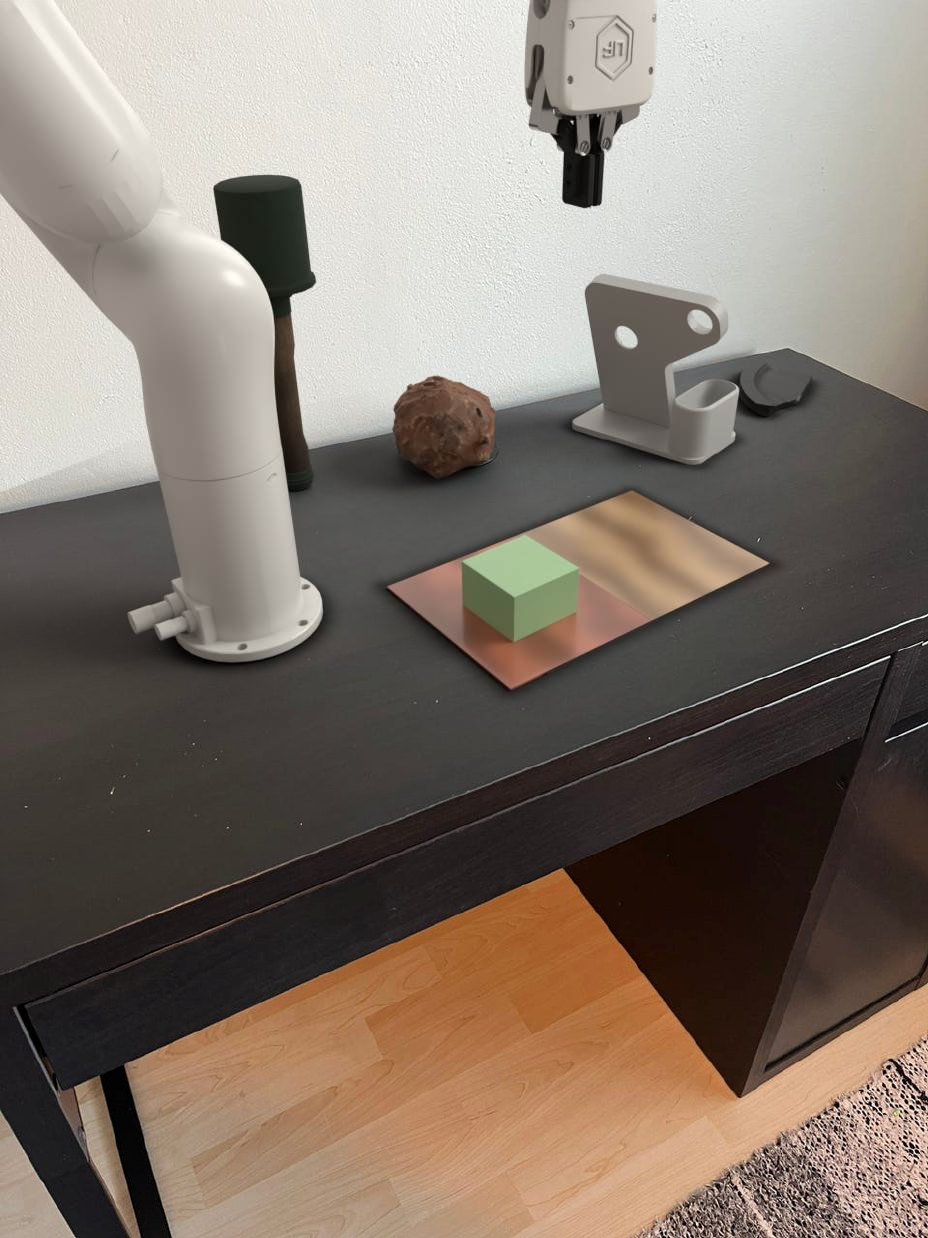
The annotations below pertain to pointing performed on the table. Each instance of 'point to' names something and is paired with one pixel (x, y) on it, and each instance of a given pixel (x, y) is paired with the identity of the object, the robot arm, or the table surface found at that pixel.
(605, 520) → the plate
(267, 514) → the robot arm
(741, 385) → the dark sector wedge
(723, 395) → the phone holder
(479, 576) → the green block
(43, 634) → the table surface
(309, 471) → the potato masher grenade
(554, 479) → the table surface
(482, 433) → the decorative rock
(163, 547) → the table surface
